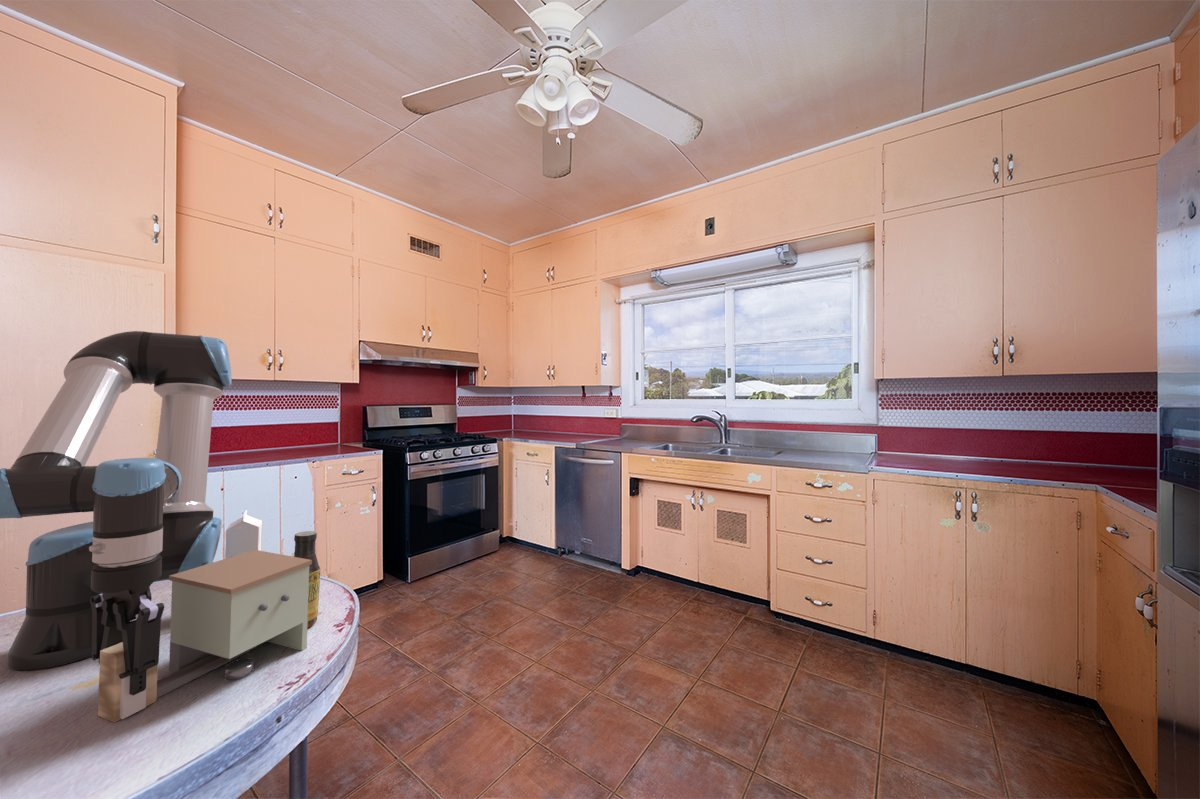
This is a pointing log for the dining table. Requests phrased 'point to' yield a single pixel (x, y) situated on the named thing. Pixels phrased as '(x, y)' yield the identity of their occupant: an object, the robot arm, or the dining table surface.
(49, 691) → the dining table surface
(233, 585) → the cabinet
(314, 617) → the sauce bottle
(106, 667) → the wooden toy block
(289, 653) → the dining table surface
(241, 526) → the milk
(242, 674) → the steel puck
